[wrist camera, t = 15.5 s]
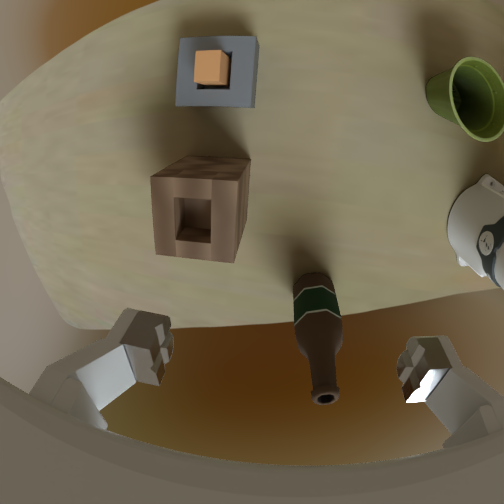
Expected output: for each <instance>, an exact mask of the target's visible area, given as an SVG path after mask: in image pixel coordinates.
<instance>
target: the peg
mask: <svg viewBox="0 0 504 504" xmlns="http://www.w3.org/2000/svg"><path fill="white" fill-rule="evenodd" d="M231 64H232V60H231V59H230V58H229V57H228V56H227V55H226V54H225V53H224V52H223V51H222V50H205V51H196V54H195V69H194V82H196V83H200V84H203V85H206V86H210V87H215V86H225V87H230V78H231Z"/></svg>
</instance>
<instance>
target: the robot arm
mask: <svg viewBox="0 0 504 504" xmlns="http://www.w3.org/2000/svg"><path fill="white" fill-rule="evenodd" d="M490 183H491V185H490ZM447 231H448V238H449V241H450V244H451V246H452V247H453V249H454V250H455V252H456V256H457V262H458V263H459V264H460V265H461V266H468V265H469V266H470V267H471V268H472V269H473V270H474V271H475V272H476V273H477V274H478V275H480V276H481V277H483V276H488V277H489V279H490V280H491V281H492V282H494V283H495V284H496V285H497V286H499V287H501V288H503V290H504V186H503V185H502V184H500V183H499V182H498V181H496V180H495V179H494V178H492V177H491V176H490V175H488V174H485V175H483V176H482V178H481V179H480V180H479V181H478V183H477V184H475V185H473V186H471V187H469V188H468V189H466V190H465V191H464V192H463V193H462V194H461V195H460V196H459V197H458V199H457V200H456V201H455V203H454V205H453V207H452V209H451V212H450V215H449V219H448V227H447ZM170 327H171V322H170V317H168V316H165V315H160V314H155V313H151V312H146V311H139V310H135V309H131V308H127V309H125V310H124V311H123V312H122V314H121V315H120V317H119V318H118V320H117V321H116V323H115V324H114V326H113V327H112V329H111V330H110V332H109V334H108V335H107V337H106V338H105V339H99V340H97V341H95V342H93V343H92V344H90V345H88V346H86V347H84V348H82V349H80V350H78V351H76V352H74V353H72V354H71V355H68V356H66V357H65V358H63V359H61V360H59V361H57V362H55V363H53V364H51V365H49V366H47V367H46V369H45V370H44V371H43V373H42V374H41V376H40V378H39V379H38V381H37V382H36V384H35V385H34V387H33V388H32V390H31V391H30V393H29V394H28V393H26V392H24V391H22V390H21V389H19V388H17V387H15V386H14V385H12V384H10V383H9V382H7V381H6V380H4V379H3V378H1V377H0V504H504V397H503V396H502V395H500V394H499V393H498V392H497V391H496V390H494V389H493V388H492V387H491V386H489V385H488V384H487V383H486V382H485V381H483V380H482V379H481V378H480V377H478V376H477V375H476V374H475V373H473V372H472V371H471V370H470V369H468V368H467V367H463V365H462V363H461V361H460V359H459V357H458V355H457V353H456V351H455V349H454V347H453V345H452V343H451V342H450V340H449V338H448V337H447V336H425V337H411V338H410V339H409V340H408V342H407V344H406V346H407V350H405V351H404V352H403V353H401V355H400V357H399V359H398V363H397V374H398V378H399V379H400V380H401V381H402V382H403V383H404V384H403V386H402V391H403V395H404V398H405V402H406V403H409V402H420V401H425V403H426V405H427V406H428V407H429V408H430V409H431V410H432V412H433V413H434V414H435V415H436V416H437V417H438V419H439V420H440V421H441V422H442V423H443V424H444V426H445V427H446V428H447V429H448V430H449V432H450V433H451V434H452V435H451V436H450V437H449V438H448V439H447V440H445V441H444V443H443V449H441V450H437V451H433V452H429V453H424V454H420V455H415V456H410V457H404V458H398V459H392V460H385V461H377V462H369V463H359V464H347V465H327V466H288V465H269V464H256V463H246V462H237V461H229V460H222V459H216V458H210V457H204V456H198V455H194V454H188V453H184V452H179V451H175V450H171V449H167V448H163V447H158V446H155V445H151V444H148V443H144V442H141V441H138V440H134V439H131V438H128V437H125V436H122V435H119V434H116V433H113V432H111V431H108V430H106V428H107V426H108V425H107V423H106V421H105V419H104V418H103V416H102V415H101V413H100V412H99V410H101V409H102V408H103V407H105V406H106V405H107V404H109V403H110V402H111V401H113V400H114V399H115V398H116V397H118V396H119V395H120V394H122V393H123V392H124V391H126V390H127V389H128V388H129V387H130V386H132V385H133V384H135V383H136V381H139V382H143V383H148V384H152V385H157V386H160V384H161V381H162V378H163V376H164V373H165V367H164V364H165V363H167V362H169V361H170V358H171V355H172V351H173V335H172V334H171V332H170V331H169V329H170Z"/></svg>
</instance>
